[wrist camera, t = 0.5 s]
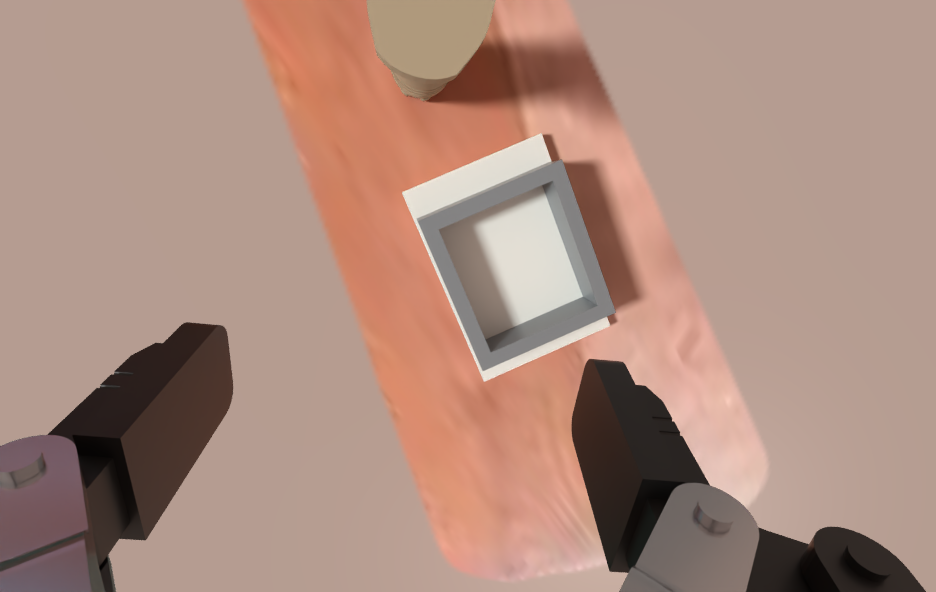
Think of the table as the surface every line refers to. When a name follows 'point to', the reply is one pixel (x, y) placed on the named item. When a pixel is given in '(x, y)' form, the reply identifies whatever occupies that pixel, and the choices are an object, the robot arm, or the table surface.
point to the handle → (427, 39)
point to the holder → (512, 255)
